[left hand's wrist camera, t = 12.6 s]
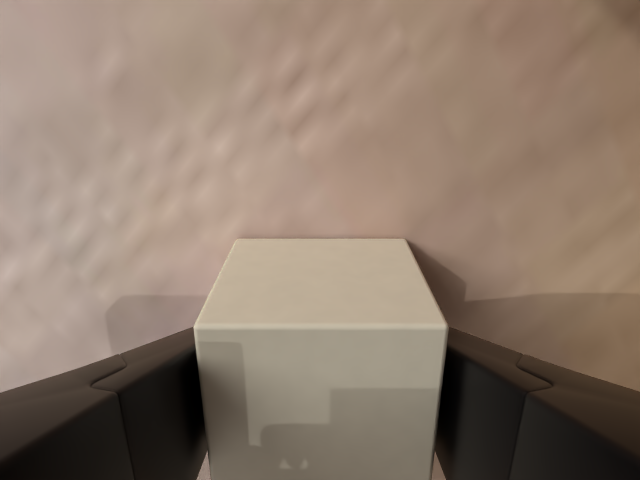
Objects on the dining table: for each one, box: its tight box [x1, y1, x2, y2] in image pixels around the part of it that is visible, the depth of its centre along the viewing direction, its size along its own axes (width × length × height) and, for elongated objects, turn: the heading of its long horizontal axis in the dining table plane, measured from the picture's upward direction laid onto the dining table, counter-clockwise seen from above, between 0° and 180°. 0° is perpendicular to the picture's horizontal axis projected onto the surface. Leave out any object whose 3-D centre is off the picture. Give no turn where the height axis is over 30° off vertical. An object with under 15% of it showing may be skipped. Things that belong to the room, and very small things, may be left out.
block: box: [193, 239, 449, 480], centre depth 10 cm, size 4×4×4 cm
